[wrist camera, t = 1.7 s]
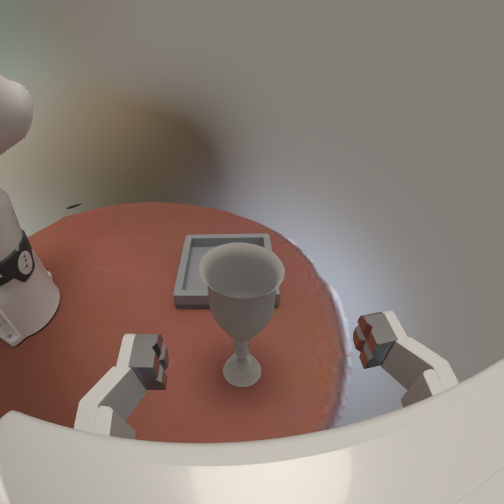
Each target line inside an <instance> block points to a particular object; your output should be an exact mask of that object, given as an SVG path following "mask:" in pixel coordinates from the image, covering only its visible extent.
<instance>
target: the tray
mask: <svg viewBox="0 0 504 504" xmlns="http://www.w3.org/2000/svg"><path fill="white" fill-rule="evenodd" d="M228 243H249V244H255V245H258V246H261V247H264V248H266V249H268V250H269V251H271V252H272V248H271V242H270V237H269V234H211V235H186V239H185V243H184V247H183V251H182V256H181V260H180V265H179V270H178V274H177V279H176V284H175V289H174V294H173V297H174V301H175V305H176V308H177V309H210V305H209V297H208V289H207V285H206V284H205V283H204V281H203V279H202V277H201V275H200V274H199V264H200V262H201V260H202V258H203V256H204V255H205V254H206V253H207V252H208V251H210V250H211V249H213V248H215V247H217V246H219V245H223V244H228ZM279 297H280V292H279V287H278V288H277V289H276V296H275V304H274V307H278V304H279Z"/></svg>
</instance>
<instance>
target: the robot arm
mask: <svg viewBox="0 0 504 504" xmlns="http://www.w3.org/2000/svg"><path fill="white" fill-rule="evenodd" d="M32 117H33V103H32V99H31V96H30V94H29V92H28V91H27V89H26V88H25V87H24V86H23V85H21V84H19V83H17V82H14V81H11V80H8V79H6V78H5V77H3V76H2V75H1V74H0V155H2V154H3V153H4V152H6V151H7V150H9V149H10V148H11V147H13V146H14V145H15V144H17V143H18V142H19V141H21V140H22V139H23V138H25V137H26V135H27V133H28V131H29V128H30V126H31V122H32ZM59 301H60V292H59V289H58V287H57V286H56V285H55V284H54V282H53V276H52V274H51V273H50V272H49V271H46V269H45V268H44V266H43V265H42V263H41V261H40V260H39V258H38V256H37V255H36V253H35V251H34V250H33V249H32V247H31V245H30V243H29V239H28V237H27V236H26V234H25V232H24V231H23V230H22V229H21V228H20V225H19V223H18V220H17V217H16V215H15V212H14V209H13V206H12V203H11V200H10V198H9V196H8V194H7V193H6V192H5V191H4V190H2V189H0V339H2V340H3V341H5V342H6V343H8V344H9V345H11V346H16V345H18V344H19V343H20V342H21V341H22V340H23V339H24V338H26V337H27V336H29V335H32V334H34V333H36V332H37V331H39V330H40V329H41V328H43V327H44V326H45V325H46V324H47V323H48V322H49V321H50V319H51V318H52V317H53V315H54V314H55V312H56V310H57V308H58V305H59ZM358 323H359V325H358V326H357V327H356V328H355V330H354V333H353V340H354V344H355V347H356V349H357V350H358V351H360V352H361V353H360V356H359V357H360V360H361V362H362V365H363V368H364V369H367V368H371V367H376V366H380V365H381V367H382V368H383V369H384V370H385V371H386V372H388V373H389V374H390V375H391V376H392V377H393V378H394V379H395V380H397V381H398V382H399V383H400V384H401V385H402V386H403V387H405V388H406V389H407V390H408V391H407V392H406V393H405V395H404V396H403V397H402V398H401V402H402V405H403V408H401V409H398V410H395V411H392V412H389V413H386V414H383V415H380V416H377V417H374V418H370V419H367V420H364V421H360V422H357V423H353V424H349V425H345V426H341V427H337V428H332V429H328V430H323V431H318V432H313V433H308V434H302V435H296V436H290V437H283V438H275V439H267V440H257V441H246V442H230V443H172V442H156V441H145V440H136V439H135V432H136V431H135V430H134V428H132V427H131V426H130V425H129V424H128V423H127V422H126V420H127V418H128V417H129V416H130V414H131V413H132V411H133V410H134V409H135V407H136V406H137V404H138V403H139V402H140V400H141V399H142V397H143V396H144V395H145V393H146V392H147V390H166V384H167V375H166V373H165V370H166V369H167V368H168V363H169V359H168V351H167V348H166V346H165V345H163V344H162V343H163V338H162V336H161V334H125V335H124V337H123V340H122V344H121V348H120V352H119V356H118V360H117V365H116V367H112V368H111V369H110V370H109V371H108V372H107V373H106V374H105V375H104V376H103V377H102V378H101V379H100V380H99V382H98V383H97V384H96V385H95V386H94V387H93V388H92V389H91V390H90V391H89V392H88V393H87V394H86V395H85V396H84V397H83V398H82V399H81V400H80V402H79V406H78V410H77V415H76V420H75V425H74V429H73V428H69V427H65V426H61V425H58V424H54V423H51V422H47V421H44V420H41V419H37V418H34V417H31V416H29V415H26V414H23V413H20V412H17V411H9V412H8V413H6V414H5V415H4V416H3V417H2V418H1V419H0V504H504V359H502V360H500V361H498V362H497V363H495V364H493V365H492V366H490V367H488V368H487V369H485V370H483V371H481V372H480V373H478V374H476V375H474V376H472V377H471V378H469V379H467V380H465V381H463V382H461V383H459V382H458V380H457V378H456V377H455V375H454V373H453V371H452V369H451V367H450V365H449V363H448V362H447V361H446V360H445V359H443V358H442V357H440V356H439V355H437V354H436V353H434V352H432V351H431V350H429V349H428V348H426V347H425V346H423V345H422V344H420V343H419V342H417V341H416V340H414V339H413V338H411V337H409V338H408V337H407V335H406V333H405V331H404V330H403V328H402V326H401V324H400V323H399V321H398V319H397V317H396V316H395V314H394V312H393V311H391V310H390V311H385V312H378V313H373V314H368V315H363V316H360V318H359V319H358Z"/></svg>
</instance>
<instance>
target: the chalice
mask: <svg viewBox="0 0 504 504" xmlns="http://www.w3.org/2000/svg"><path fill="white" fill-rule="evenodd" d="M284 273H285V269H284V267H283V264H282V261H281V260H280V259H279V258H278V257H277V256H276V255H275V254H274V253H272V252H271V251H269V250H268V249H266V248H264V247H261V246H258V245H255V244H249V243H228V244H223V245H219V246H217V247H215V248H213V249H211V250H210V251H208V252H207V253H206V254H205V255H204V256H203V258H202V260H201V262H200V264H199V274H200V275H201V277H202V279H203V281H204V283H205V284H206V285H207V289H208V297H209V305H210V311H211V313H212V315H213V317H214V319H215V320H216V322H217V323H218V325H219V326H220V327H221V328H222V329H223V330H224V331H225V332H226V333H227V334H228V335H229V336H231V337H232V338H233V339H235V346H236V348H235V350H234V353H235V354H233V355H232V356H231V357H230V358H229V359H228V360H227V361H226V363H225V364H224V367H223V375H224V377H225V379H226V380H227V381H228V382H229V383H230V384H232V385H234V386H237V387H248V386H251V385H253V384H255V383H256V382H257V381H258V380H259V378H260V377H261V372H262V371H261V366H260V364H259V362H258V361H257V360H256V359H255V358H254V357H253V356H252V355H250V354H249V353H250V352H249V349H248V348H247V347H248V346H249V340H250V339H252V338H253V337H255V336H256V335H257V334H258V333H260V332H261V331H262V330H263V329H264V328H265V326H266V325H267V324H268V322H269V321H270V319H271V318H272V316H273V311H274V304H275V296H276V289H277V288H278V287H279V285H280V284H281V282H282V281H283V280H284Z"/></svg>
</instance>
